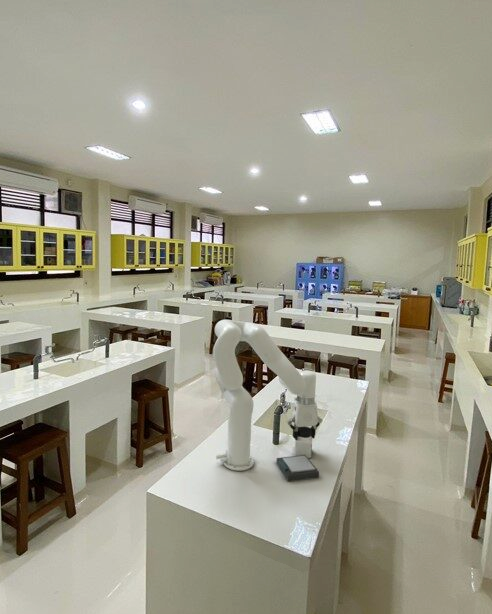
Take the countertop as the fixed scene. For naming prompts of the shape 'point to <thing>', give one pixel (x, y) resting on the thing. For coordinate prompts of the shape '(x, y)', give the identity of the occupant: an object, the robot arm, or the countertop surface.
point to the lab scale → (297, 468)
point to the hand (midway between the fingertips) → (303, 437)
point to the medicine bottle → (303, 442)
